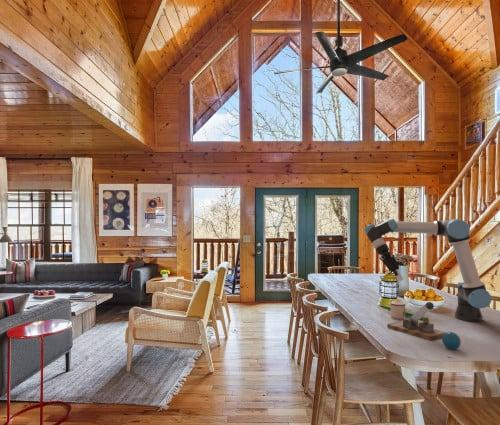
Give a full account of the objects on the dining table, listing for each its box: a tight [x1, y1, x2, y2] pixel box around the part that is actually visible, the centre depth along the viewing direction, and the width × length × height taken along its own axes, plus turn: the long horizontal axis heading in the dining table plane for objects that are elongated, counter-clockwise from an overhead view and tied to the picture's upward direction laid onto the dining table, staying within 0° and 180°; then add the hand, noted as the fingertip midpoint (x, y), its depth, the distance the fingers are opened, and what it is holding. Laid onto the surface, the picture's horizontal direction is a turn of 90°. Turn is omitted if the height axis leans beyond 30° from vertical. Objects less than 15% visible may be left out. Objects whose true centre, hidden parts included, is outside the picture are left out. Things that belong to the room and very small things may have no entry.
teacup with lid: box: [389, 298, 406, 320], centre depth 222 cm, size 12×9×12 cm
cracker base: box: [386, 316, 446, 341], centre depth 191 cm, size 26×14×9 cm, turn 33°
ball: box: [441, 331, 462, 350], centre depth 165 cm, size 8×8×8 cm
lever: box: [408, 301, 435, 325], centre depth 189 cm, size 4×4×19 cm
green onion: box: [382, 305, 429, 321], centre depth 224 cm, size 5×3×30 cm
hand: (401, 280), depth 205 cm, fingers closed
